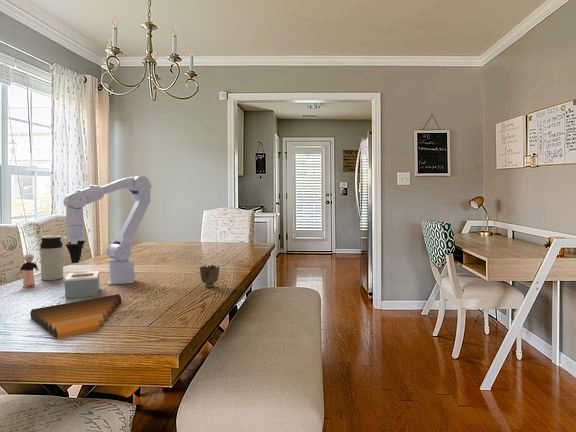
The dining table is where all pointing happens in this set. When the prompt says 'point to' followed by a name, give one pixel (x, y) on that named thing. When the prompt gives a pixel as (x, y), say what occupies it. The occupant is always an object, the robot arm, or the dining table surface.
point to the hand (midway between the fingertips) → (76, 261)
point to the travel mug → (51, 257)
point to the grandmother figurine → (28, 271)
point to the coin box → (82, 284)
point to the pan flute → (75, 316)
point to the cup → (209, 275)
